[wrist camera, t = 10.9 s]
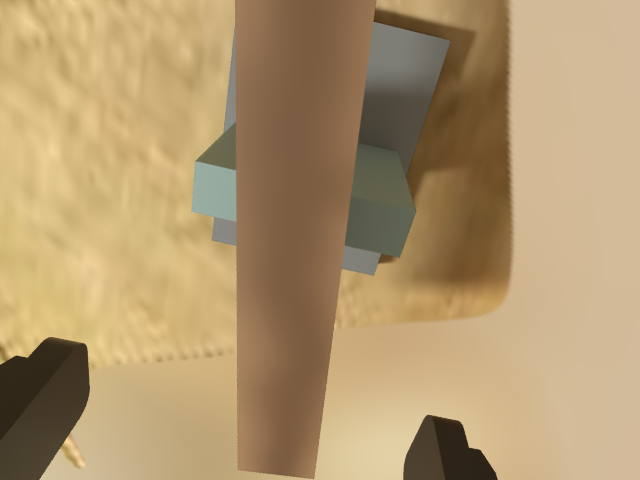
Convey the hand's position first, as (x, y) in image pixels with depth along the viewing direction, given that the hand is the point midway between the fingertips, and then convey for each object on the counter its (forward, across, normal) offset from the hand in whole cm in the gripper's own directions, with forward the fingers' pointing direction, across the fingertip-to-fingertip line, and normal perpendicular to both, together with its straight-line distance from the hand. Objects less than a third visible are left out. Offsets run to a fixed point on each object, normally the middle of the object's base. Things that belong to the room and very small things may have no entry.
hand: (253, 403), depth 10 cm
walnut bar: (+11, 0, 0) cm, 11 cm away
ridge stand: (+21, 0, 0) cm, 21 cm away
